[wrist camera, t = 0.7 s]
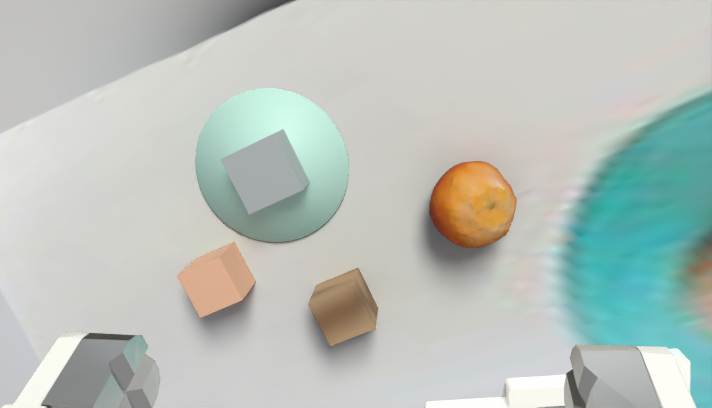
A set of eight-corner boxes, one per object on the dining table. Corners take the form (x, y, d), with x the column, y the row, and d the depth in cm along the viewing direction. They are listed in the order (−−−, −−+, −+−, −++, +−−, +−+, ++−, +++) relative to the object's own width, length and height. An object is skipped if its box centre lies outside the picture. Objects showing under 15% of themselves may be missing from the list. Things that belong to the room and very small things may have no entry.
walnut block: (378, 307, 59) (375, 328, 54) (336, 323, 60) (330, 346, 55) (358, 267, 58) (353, 285, 54) (316, 284, 59) (308, 304, 55)
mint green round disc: (374, 205, 56) (372, 215, 53) (241, 263, 59) (229, 277, 56) (305, 60, 54) (297, 59, 50) (168, 129, 57) (151, 133, 53)
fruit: (398, 186, 54) (440, 184, 47) (458, 152, 57) (508, 145, 50) (429, 257, 56) (476, 266, 48) (487, 221, 58) (539, 224, 51)
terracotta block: (256, 281, 60) (242, 300, 55) (217, 297, 61) (200, 317, 56) (234, 241, 59) (219, 256, 54) (195, 258, 60) (176, 275, 55)
